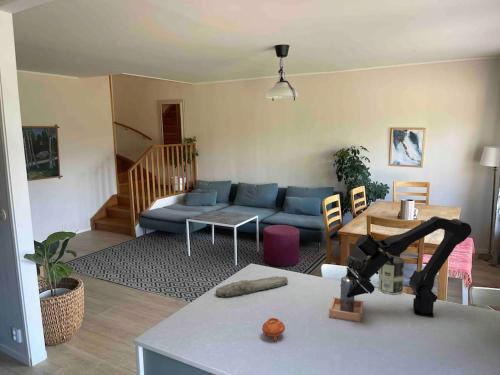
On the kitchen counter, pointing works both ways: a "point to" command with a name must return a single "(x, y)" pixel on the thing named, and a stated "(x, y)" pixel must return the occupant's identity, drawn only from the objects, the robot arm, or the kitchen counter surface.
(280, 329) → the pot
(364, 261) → the robot arm
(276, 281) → the elongated rock
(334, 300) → the terracotta bin
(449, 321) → the kitchen counter surface
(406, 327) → the kitchen counter surface
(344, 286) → the dark grey cylinder
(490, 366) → the kitchen counter surface
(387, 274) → the coffee can
